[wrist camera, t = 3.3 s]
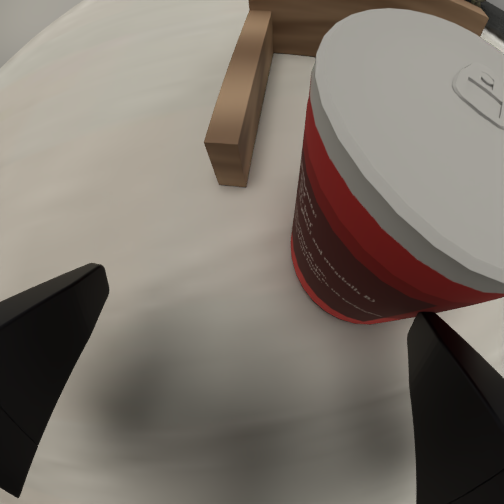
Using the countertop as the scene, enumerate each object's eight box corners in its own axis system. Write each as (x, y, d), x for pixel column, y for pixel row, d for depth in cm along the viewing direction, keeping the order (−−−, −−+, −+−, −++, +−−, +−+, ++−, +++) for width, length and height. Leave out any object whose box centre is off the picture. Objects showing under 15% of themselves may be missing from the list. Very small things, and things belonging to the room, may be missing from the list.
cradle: (481, 227, 15) (565, 166, 7) (218, 184, 17) (180, 77, 9) (447, 77, 18) (480, 8, 11) (256, 41, 20) (248, -43, 12)
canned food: (436, 207, 15) (552, 83, 5) (408, 344, 14) (589, 332, 3) (315, 161, 17) (345, -19, 6) (267, 297, 15) (248, 192, 4)
